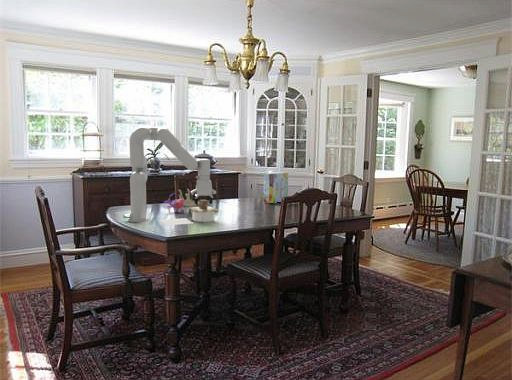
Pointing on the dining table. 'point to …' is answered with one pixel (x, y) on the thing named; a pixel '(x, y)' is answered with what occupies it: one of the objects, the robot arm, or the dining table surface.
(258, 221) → the dining table surface
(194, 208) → the birch lid
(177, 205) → the heart model
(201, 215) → the ceramic bowl
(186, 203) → the jawbone
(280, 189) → the snack box
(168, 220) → the grey mat
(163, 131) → the robot arm
